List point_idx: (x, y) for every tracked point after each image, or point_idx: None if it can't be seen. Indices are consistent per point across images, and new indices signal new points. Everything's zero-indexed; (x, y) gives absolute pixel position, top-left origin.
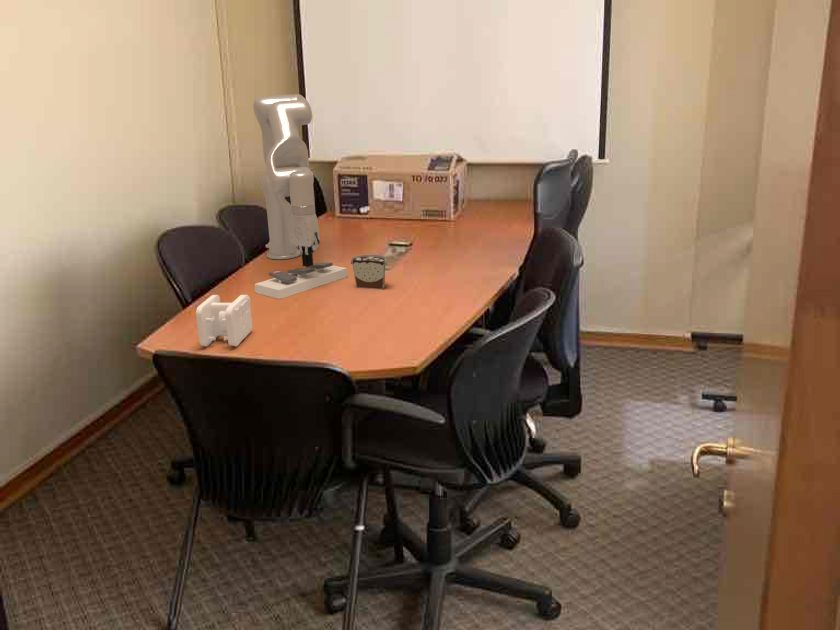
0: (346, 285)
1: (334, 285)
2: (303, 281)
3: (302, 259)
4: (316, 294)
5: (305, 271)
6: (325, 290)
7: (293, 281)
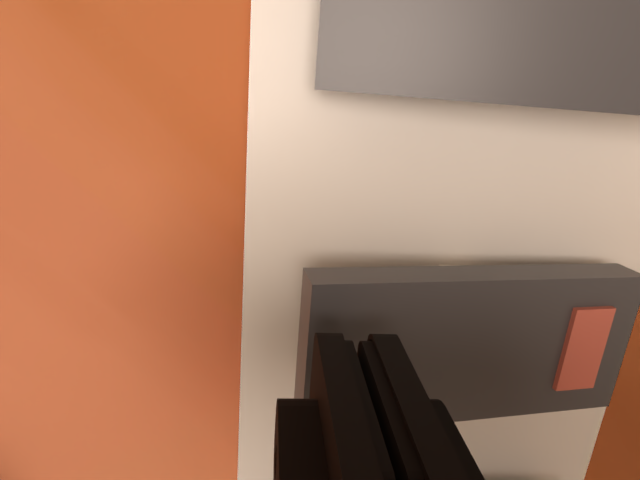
0: (54, 450)
1: (144, 400)
2: (270, 163)
3: (422, 402)
4: (48, 108)
5: (314, 281)
6: (87, 256)
7: (385, 99)
